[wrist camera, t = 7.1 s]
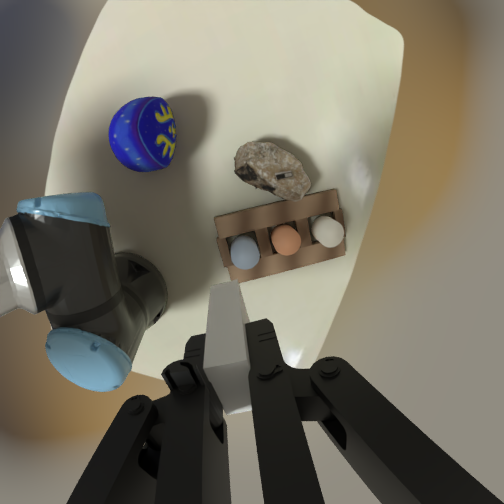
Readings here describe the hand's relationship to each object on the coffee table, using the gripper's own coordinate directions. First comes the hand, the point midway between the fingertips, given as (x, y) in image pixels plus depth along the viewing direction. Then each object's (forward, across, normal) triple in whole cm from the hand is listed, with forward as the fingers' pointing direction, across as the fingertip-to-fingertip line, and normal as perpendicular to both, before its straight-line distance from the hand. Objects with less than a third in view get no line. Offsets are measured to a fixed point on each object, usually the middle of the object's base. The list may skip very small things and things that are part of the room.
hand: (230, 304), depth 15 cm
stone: (+33, +8, +4) cm, 34 cm away
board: (+32, +8, -7) cm, 34 cm away
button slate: (+31, +1, -7) cm, 32 cm away
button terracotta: (+32, +8, -7) cm, 34 cm away
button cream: (+31, +15, -7) cm, 35 cm away
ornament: (+33, -9, +15) cm, 37 cm away
